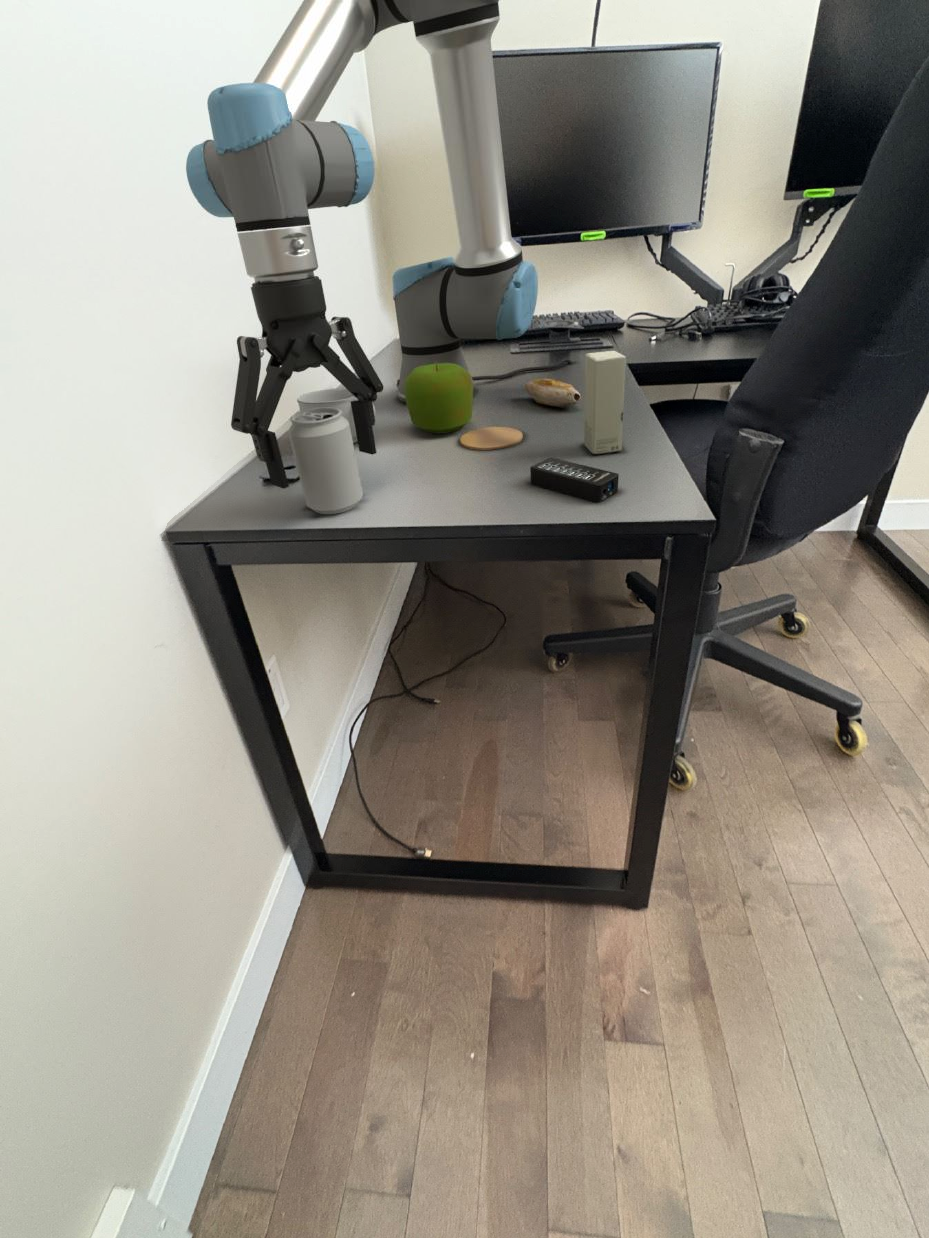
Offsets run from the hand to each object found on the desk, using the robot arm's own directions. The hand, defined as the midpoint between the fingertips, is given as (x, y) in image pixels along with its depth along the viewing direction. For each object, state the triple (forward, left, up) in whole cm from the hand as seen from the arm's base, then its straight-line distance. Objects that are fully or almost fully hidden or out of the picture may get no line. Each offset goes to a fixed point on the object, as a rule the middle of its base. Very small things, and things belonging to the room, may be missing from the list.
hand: (326, 468), depth 76 cm
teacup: (-17, -20, -5) cm, 26 cm away
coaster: (-30, +1, -5) cm, 31 cm away
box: (-35, +18, -5) cm, 40 cm away
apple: (-30, -10, -5) cm, 32 cm away
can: (0, 0, -5) cm, 5 cm away
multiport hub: (-21, +23, -5) cm, 32 cm away
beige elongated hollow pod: (-50, -2, -5) cm, 51 cm away
